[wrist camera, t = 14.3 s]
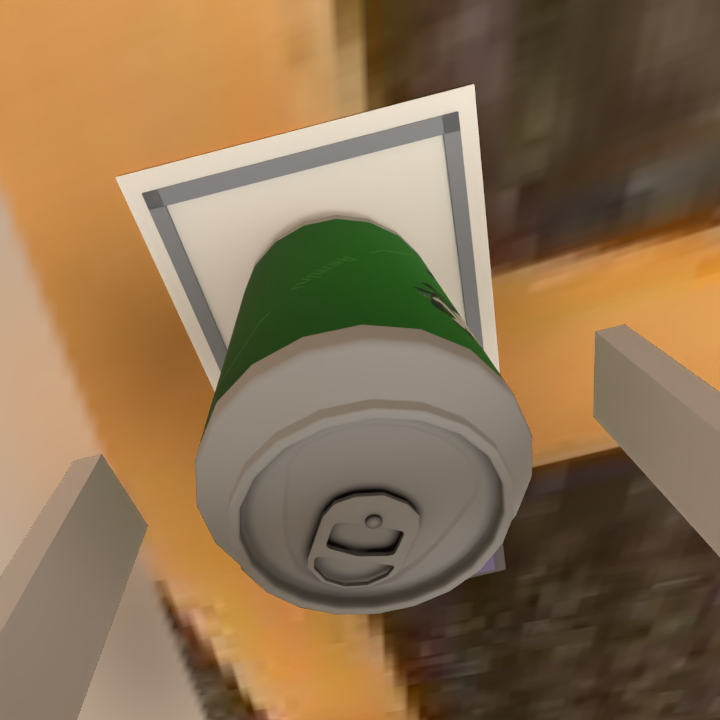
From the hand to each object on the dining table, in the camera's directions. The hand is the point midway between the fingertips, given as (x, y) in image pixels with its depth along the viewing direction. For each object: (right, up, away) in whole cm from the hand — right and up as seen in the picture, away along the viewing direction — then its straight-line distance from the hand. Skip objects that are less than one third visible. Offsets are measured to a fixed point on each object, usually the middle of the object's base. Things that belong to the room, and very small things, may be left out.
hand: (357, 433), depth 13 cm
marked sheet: (-1, +5, +7) cm, 9 cm away
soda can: (-1, +5, +7) cm, 9 cm away
